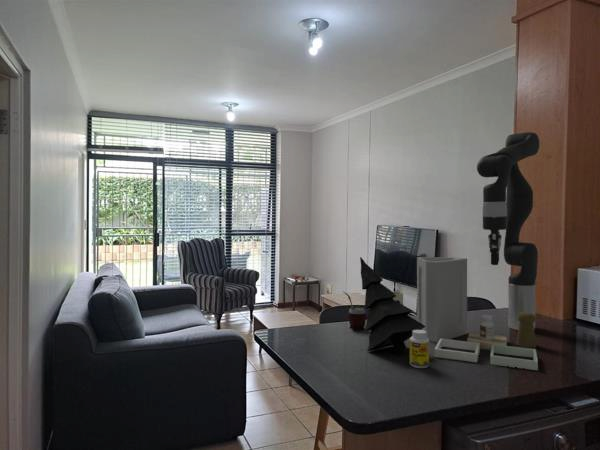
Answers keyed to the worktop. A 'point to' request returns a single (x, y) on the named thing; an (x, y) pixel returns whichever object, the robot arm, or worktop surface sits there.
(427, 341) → the supplement bottle
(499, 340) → the birch board
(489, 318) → the pill bottle
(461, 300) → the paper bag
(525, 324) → the cork
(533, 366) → the sage tray
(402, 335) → the decorative tree
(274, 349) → the worktop surface
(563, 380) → the worktop surface
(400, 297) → the character mug
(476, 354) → the offwhite tray
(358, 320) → the mate gourd
